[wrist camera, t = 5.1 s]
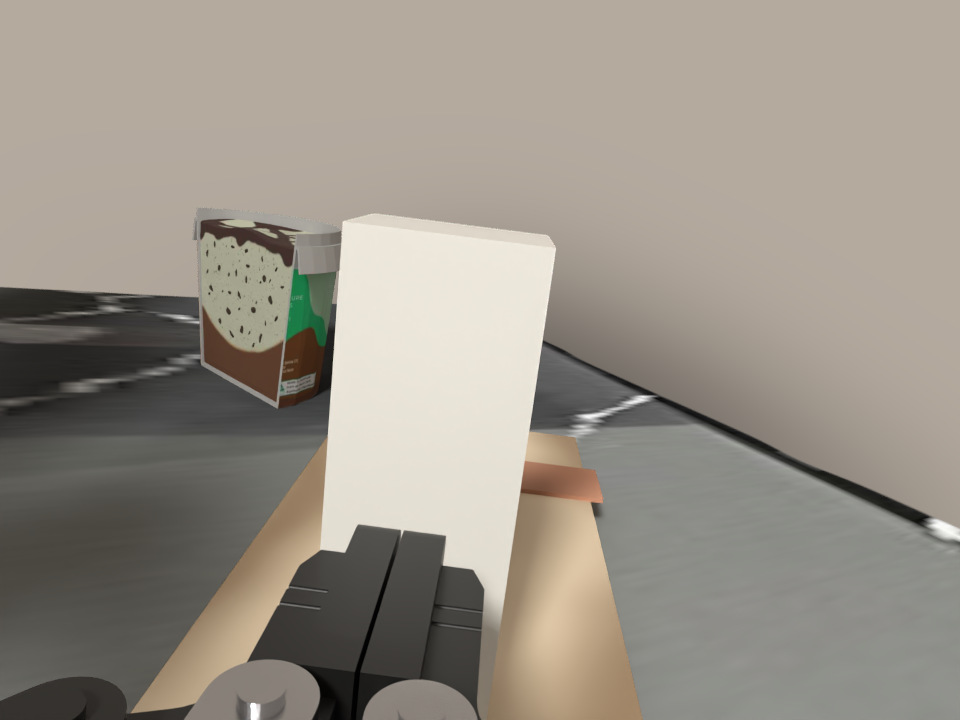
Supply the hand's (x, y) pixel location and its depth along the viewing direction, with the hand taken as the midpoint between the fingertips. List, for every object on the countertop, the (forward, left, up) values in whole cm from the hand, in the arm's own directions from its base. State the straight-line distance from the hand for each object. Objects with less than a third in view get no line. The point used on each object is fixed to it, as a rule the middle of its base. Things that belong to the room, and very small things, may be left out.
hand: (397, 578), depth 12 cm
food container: (-12, +32, -8) cm, 35 cm away
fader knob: (0, +4, -5) cm, 7 cm away
